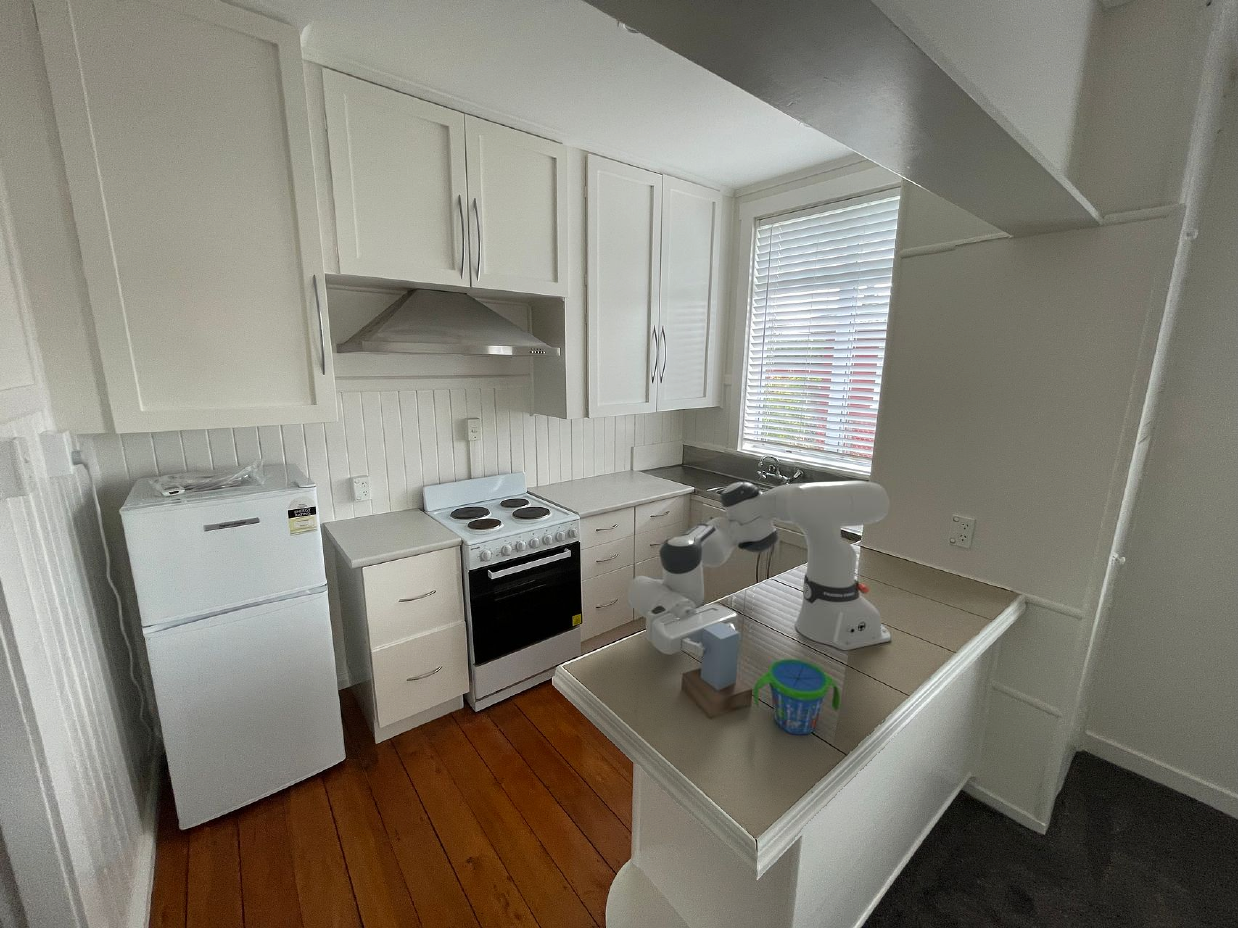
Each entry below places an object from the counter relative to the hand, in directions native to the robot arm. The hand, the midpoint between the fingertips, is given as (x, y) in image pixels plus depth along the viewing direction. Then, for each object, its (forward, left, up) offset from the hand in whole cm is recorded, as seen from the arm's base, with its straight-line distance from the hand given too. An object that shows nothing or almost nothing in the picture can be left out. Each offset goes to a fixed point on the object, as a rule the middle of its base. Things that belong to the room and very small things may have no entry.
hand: (721, 645), depth 101 cm
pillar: (0, 0, -8) cm, 8 cm away
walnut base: (+1, 0, -12) cm, 12 cm away
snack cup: (-12, +9, -12) cm, 19 cm away
